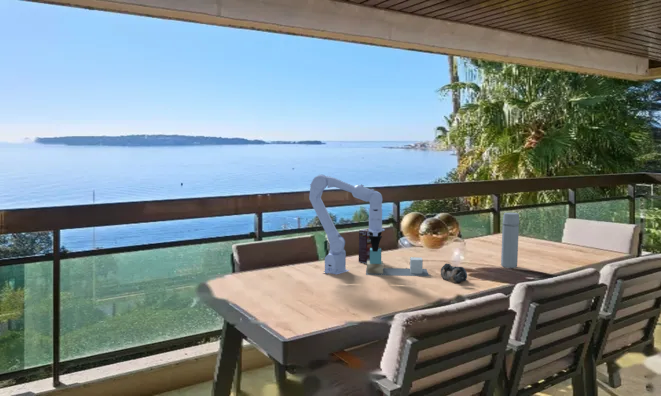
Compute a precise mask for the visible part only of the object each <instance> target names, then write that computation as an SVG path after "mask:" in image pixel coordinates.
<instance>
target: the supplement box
mask: <svg viewBox="0 0 661 396" xmlns="http://www.w3.org/2000/svg"><path fill="white" fill-rule="evenodd" d="M368 229H369V227H367V228H365V229H359V231H358V263H361V262H362V263H363V264H367V261H370V248H372V244H371V240H370V238H369V235H370V234H369V232H370V231H368Z"/></svg>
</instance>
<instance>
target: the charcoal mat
mask: <svg viewBox="0 0 661 396" xmlns="http://www.w3.org/2000/svg"><path fill="white" fill-rule="evenodd" d="M365 275H366V276H389V277H391V276H395V277H396V276H397V277H398V276H400V277H401V276H402V277H407V276H408V277H430V274H429V272H428V270H427V268H422V274H415V273H411V272H410V268H401V267H391V268H390V267H383V274H380V273H367V267H366V269H365Z"/></svg>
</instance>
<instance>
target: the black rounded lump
mask: <svg viewBox="0 0 661 396" xmlns="http://www.w3.org/2000/svg"><path fill="white" fill-rule="evenodd" d="M440 277H441V278H442V279H443V280H444V281H445V280H446V281H448V282H450V283H452V284H460V283H461V282H466V281H467V279H468V273H467V270H466V269H465V268H464V267H463V266H453V265H451V264H450V263H445V264H444V265H443V266H442V267H441V269H440Z"/></svg>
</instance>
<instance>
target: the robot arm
mask: <svg viewBox="0 0 661 396" xmlns="http://www.w3.org/2000/svg"><path fill="white" fill-rule="evenodd" d="M326 188H327V189H331V188H336V189H339V190H341V191H342V190H343V191H346V192H348V193H351V195H352V196H353V198H355V199H358V200H361V201H364V202H366V203H367V202H369V208H368V228H369V229H368V228H367V229H368V231H370V232H369V234H370V235H369V238H370V240H371V244H372V250H373V252H378V248H380V242H381V240H382V238H383V236H382V232H385V228H383V205H382V203H383V200H384V199H383V195H382V194H381V192H379V191H378V190H375V189H374V188H367V187H365V186H364V184H357V185H353V184H350V183H348V182H345V181H342V180H340V179H338V178H336V177H334V176H333V177H332V176H328V175H325V174H318V175H316V176H315V177H313V179H312V181H311V183H310V186H309V196H308V199H309V201H310V204H311V206H312V208H313V210H314V211H315V213H316V216H317V217H318V219H319V222H320V223H321V226H322V228H323V230H324V232H325V234H326V237H327V240H328V243H329V253H328V254H327V255H326V256H325V257H324V271H323V272H325V273H324V274H328V273H329V274H333V275H340V274H341V275H342V274H343V273H346V272H349V271H350V269H346V267H347V266H346V259H347V258H346V257H347V255H346V253H347V252H346V250H345V245H346V240H345V238H344V236H342V235H341V234H340V233H339V230H337V227H336V226H335V223H334V222H333V220H332V217H331V216H330V214H329V211H328V210H327V208H326V205H325V203H324V202H323V199H322V196H323V193H324V190H325V189H326Z"/></svg>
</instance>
